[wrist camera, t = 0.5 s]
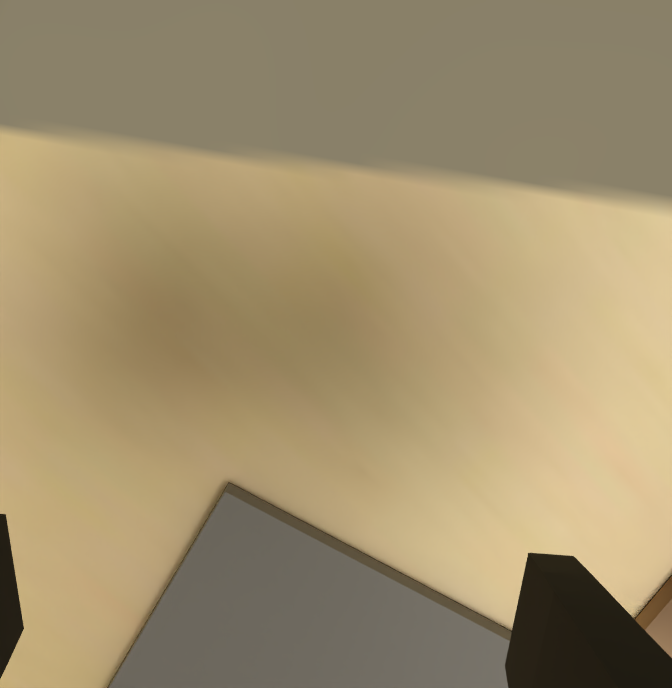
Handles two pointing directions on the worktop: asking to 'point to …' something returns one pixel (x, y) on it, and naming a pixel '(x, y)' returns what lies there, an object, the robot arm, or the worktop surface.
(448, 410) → the worktop surface
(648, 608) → the brown slotted base
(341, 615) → the mat
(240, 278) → the worktop surface
